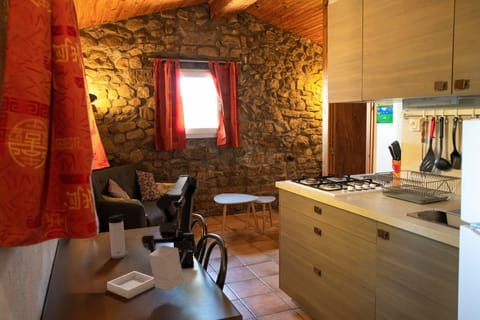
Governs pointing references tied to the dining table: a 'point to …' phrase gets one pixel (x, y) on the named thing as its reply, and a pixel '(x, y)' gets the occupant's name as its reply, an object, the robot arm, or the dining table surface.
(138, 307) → the dining table surface
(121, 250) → the travel mug
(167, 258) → the supplement box
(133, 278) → the tray
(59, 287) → the dining table surface
